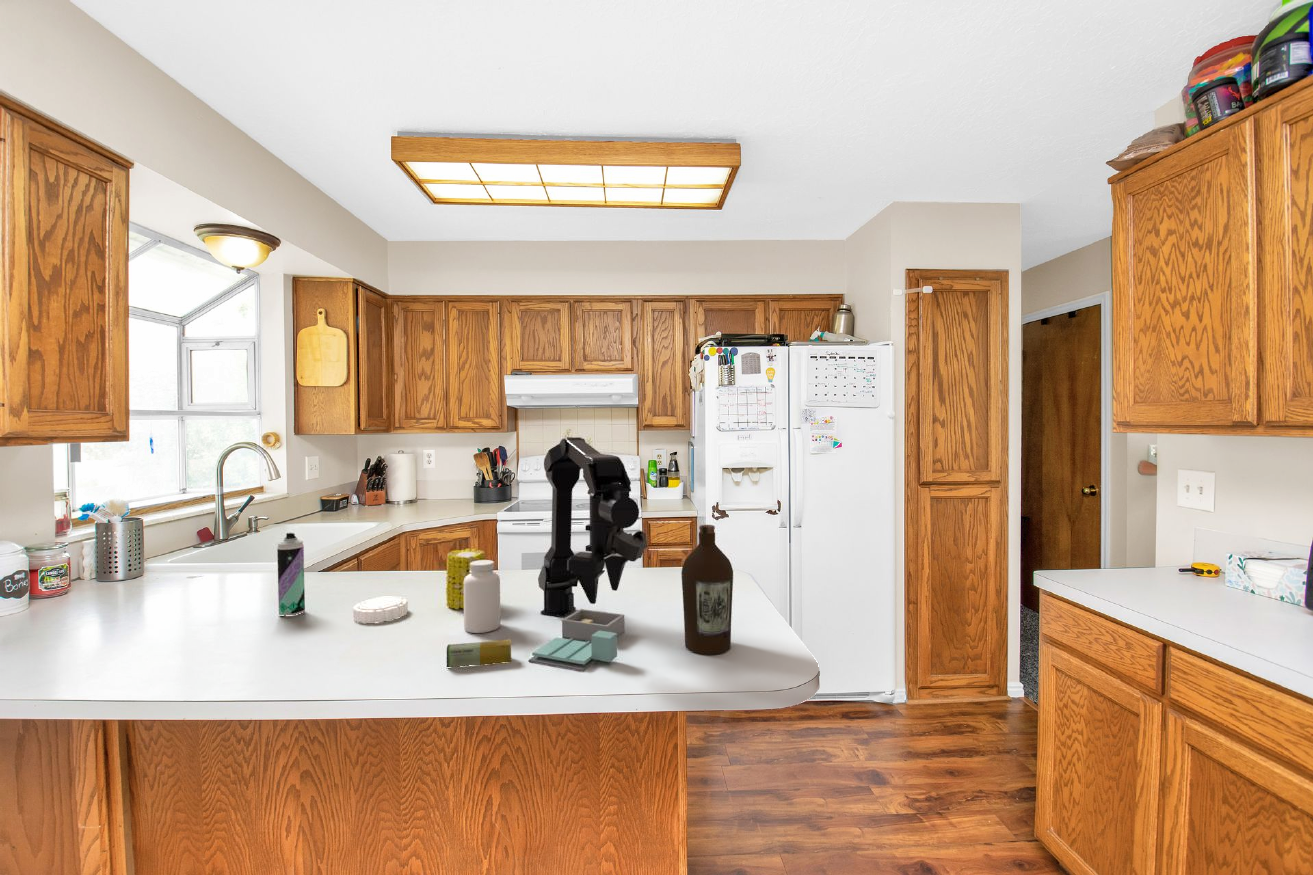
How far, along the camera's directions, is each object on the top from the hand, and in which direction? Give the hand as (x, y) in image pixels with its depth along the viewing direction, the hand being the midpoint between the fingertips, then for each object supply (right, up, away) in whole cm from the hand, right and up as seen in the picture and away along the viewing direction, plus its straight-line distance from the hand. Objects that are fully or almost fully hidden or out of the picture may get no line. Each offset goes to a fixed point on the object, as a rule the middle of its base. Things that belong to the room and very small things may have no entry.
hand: (604, 596), depth 116 cm
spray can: (-80, -12, +27) cm, 85 cm away
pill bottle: (-29, -12, +16) cm, 35 cm away
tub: (-3, -11, +10) cm, 15 cm away
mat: (-7, -12, -1) cm, 14 cm away
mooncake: (-57, -12, +25) cm, 63 cm away
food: (-38, -11, +32) cm, 51 cm away
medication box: (-24, -12, -4) cm, 27 cm away
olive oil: (+21, -11, +3) cm, 24 cm away
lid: (-5, -11, -2) cm, 12 cm away
